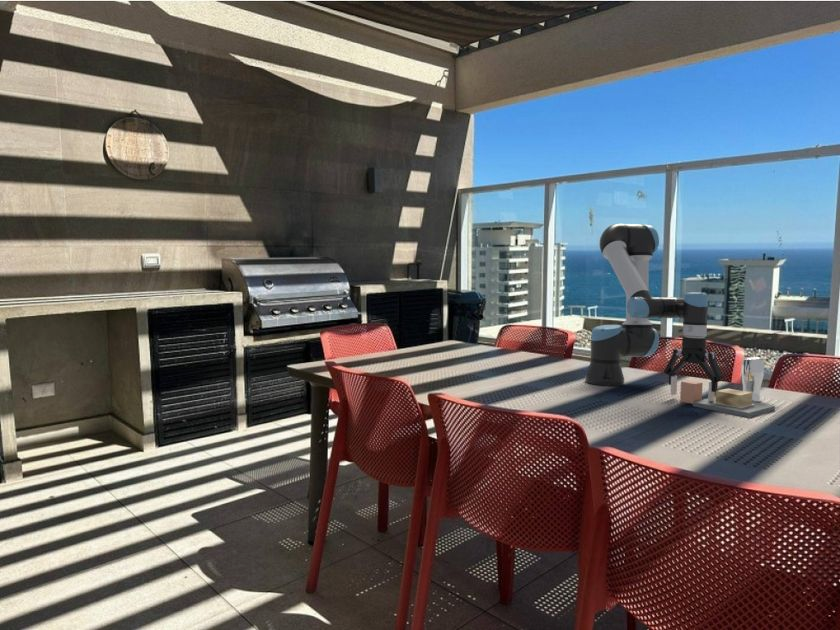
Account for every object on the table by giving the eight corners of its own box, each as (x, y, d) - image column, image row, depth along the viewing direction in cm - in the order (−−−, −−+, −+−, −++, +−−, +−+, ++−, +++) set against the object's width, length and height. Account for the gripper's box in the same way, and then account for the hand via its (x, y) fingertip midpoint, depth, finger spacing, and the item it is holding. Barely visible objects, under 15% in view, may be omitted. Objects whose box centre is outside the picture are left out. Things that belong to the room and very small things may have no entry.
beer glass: (759, 398, 205) (762, 357, 204) (764, 402, 198) (767, 360, 197) (737, 397, 207) (740, 356, 206) (741, 401, 201) (744, 359, 200)
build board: (692, 406, 192) (692, 401, 191) (719, 399, 202) (719, 395, 202) (748, 417, 177) (748, 412, 177) (774, 410, 187) (774, 405, 187)
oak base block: (715, 402, 190) (716, 390, 190) (727, 399, 195) (727, 388, 195) (740, 407, 184) (740, 395, 183) (751, 404, 188) (752, 392, 188)
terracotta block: (680, 401, 199) (681, 381, 198) (687, 399, 202) (688, 380, 201) (693, 404, 195) (694, 384, 194) (701, 402, 198) (702, 382, 197)
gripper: (655, 334, 205) (653, 392, 206) (725, 340, 184) (722, 405, 185) (666, 333, 209) (664, 390, 210) (736, 339, 189) (734, 402, 190)
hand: (691, 397), depth 198 cm, fingers open, 13 cm apart
